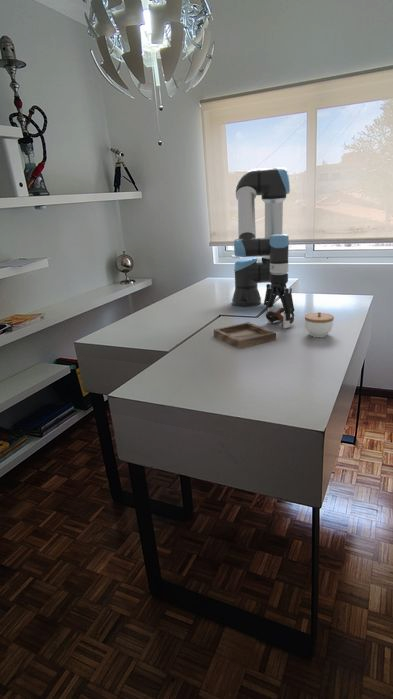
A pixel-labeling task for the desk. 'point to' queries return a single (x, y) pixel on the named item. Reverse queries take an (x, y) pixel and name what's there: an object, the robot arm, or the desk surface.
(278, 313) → the broken clay pot
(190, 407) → the desk surface
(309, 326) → the lidded jar
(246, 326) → the walnut tray
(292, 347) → the desk surface
